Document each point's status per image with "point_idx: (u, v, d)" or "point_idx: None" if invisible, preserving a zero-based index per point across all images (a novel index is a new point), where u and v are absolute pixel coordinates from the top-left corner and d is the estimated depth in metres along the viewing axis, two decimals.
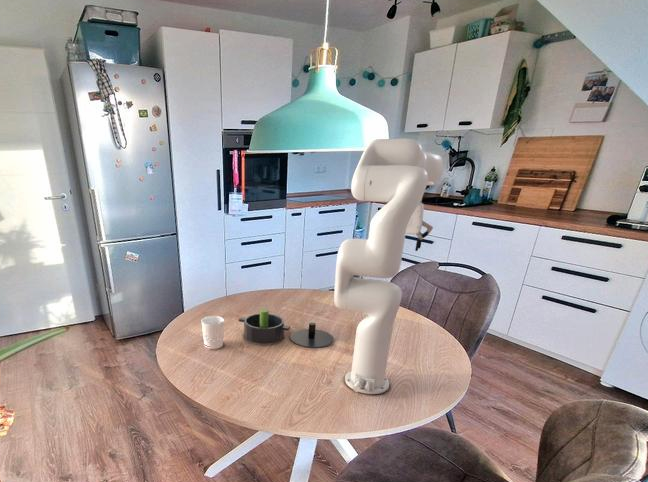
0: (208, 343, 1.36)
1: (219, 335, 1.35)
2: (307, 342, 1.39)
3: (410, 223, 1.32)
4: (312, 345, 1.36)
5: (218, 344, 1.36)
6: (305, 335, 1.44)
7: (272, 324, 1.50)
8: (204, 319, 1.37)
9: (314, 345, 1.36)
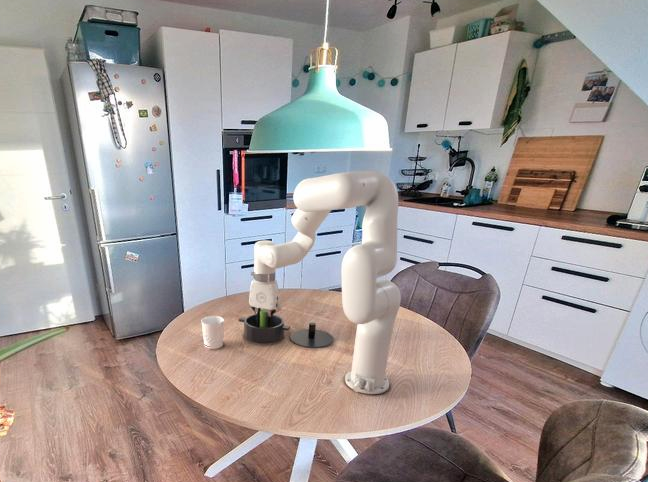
0: (208, 343, 1.36)
1: (219, 335, 1.35)
2: (307, 342, 1.39)
3: (265, 300, 1.37)
4: (312, 345, 1.36)
5: (218, 344, 1.36)
6: (305, 335, 1.44)
7: (272, 324, 1.50)
8: (204, 319, 1.37)
9: (314, 345, 1.36)
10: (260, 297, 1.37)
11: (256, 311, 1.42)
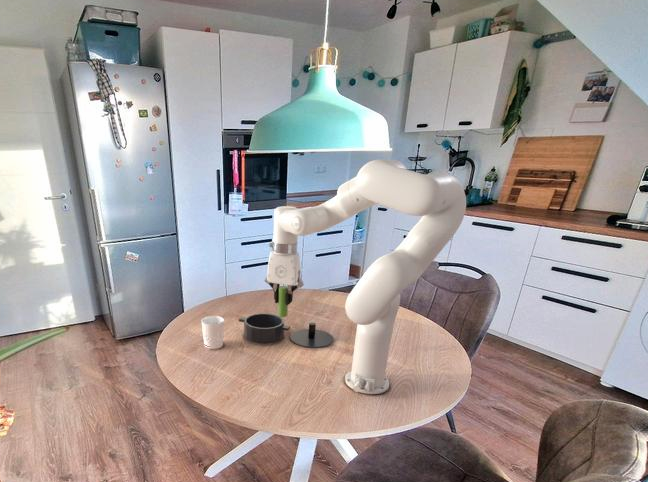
0: (208, 343, 1.36)
1: (219, 335, 1.35)
2: (307, 342, 1.39)
3: (285, 274, 1.21)
4: (312, 345, 1.36)
5: (218, 344, 1.36)
6: (305, 335, 1.44)
7: (272, 324, 1.50)
8: (204, 319, 1.37)
9: (314, 345, 1.36)
10: (280, 271, 1.22)
11: (275, 288, 1.26)
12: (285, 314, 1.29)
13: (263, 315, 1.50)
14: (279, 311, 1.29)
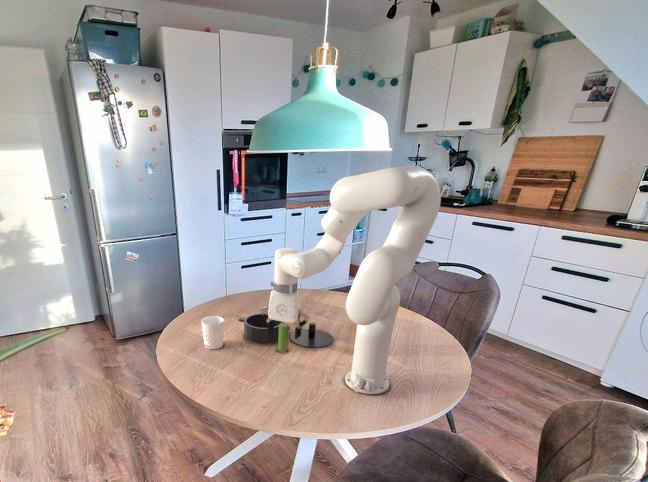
0: (208, 343, 1.36)
1: (219, 335, 1.35)
2: (307, 342, 1.39)
3: (286, 312, 1.25)
4: (312, 345, 1.36)
5: (218, 344, 1.36)
6: (305, 335, 1.44)
7: None
8: (204, 319, 1.37)
9: (314, 345, 1.36)
10: (281, 309, 1.26)
11: (268, 319, 1.31)
12: (285, 350, 1.33)
13: None
14: (279, 347, 1.33)
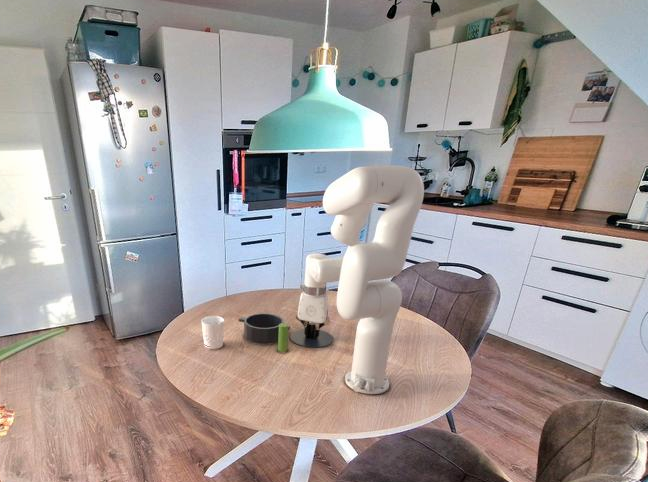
0: (208, 343, 1.36)
1: (219, 335, 1.35)
2: (307, 342, 1.39)
3: (315, 313, 1.35)
4: (312, 345, 1.36)
5: (218, 344, 1.36)
6: None
7: (272, 324, 1.50)
8: (204, 319, 1.37)
9: (314, 345, 1.36)
10: (310, 310, 1.35)
11: (305, 324, 1.40)
12: (285, 350, 1.33)
13: (263, 315, 1.50)
14: (279, 347, 1.33)
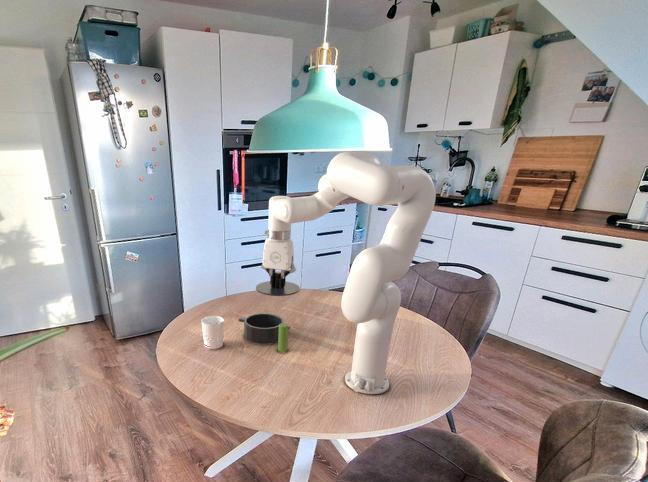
0: (208, 343, 1.36)
1: (219, 335, 1.35)
2: (272, 291, 1.33)
3: (279, 259, 1.30)
4: (277, 293, 1.31)
5: (218, 344, 1.36)
6: None
7: (272, 324, 1.50)
8: (204, 319, 1.37)
9: (279, 293, 1.31)
10: (274, 257, 1.30)
11: (271, 273, 1.35)
12: (285, 350, 1.33)
13: (263, 315, 1.50)
14: (279, 347, 1.33)
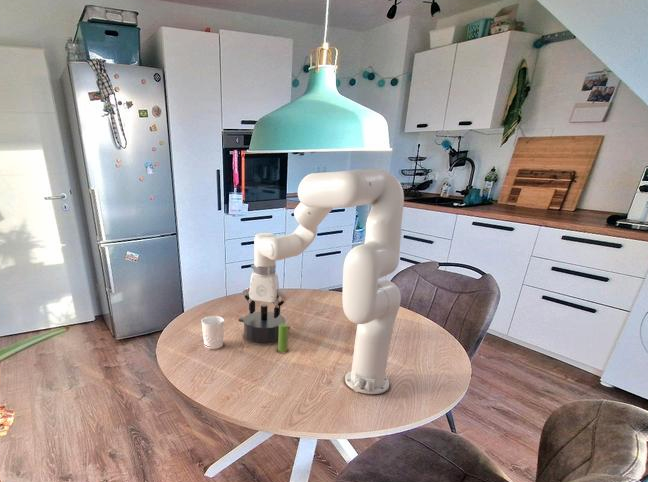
0: (208, 343, 1.36)
1: (219, 335, 1.35)
2: (259, 323, 1.39)
3: (265, 293, 1.36)
4: (262, 326, 1.37)
5: (218, 344, 1.36)
6: (258, 317, 1.45)
7: None
8: (204, 319, 1.37)
9: (264, 326, 1.37)
10: (260, 290, 1.36)
11: (249, 300, 1.41)
12: (285, 350, 1.33)
13: None
14: (279, 347, 1.33)
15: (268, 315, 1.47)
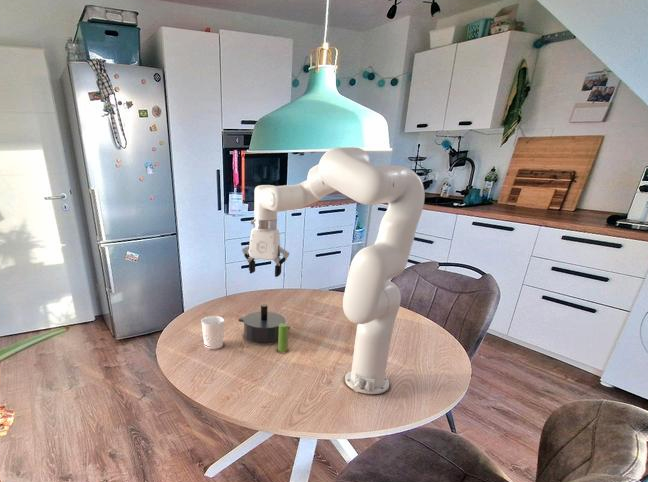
0: (208, 343, 1.36)
1: (219, 335, 1.35)
2: (259, 323, 1.39)
3: (266, 249, 1.29)
4: (262, 326, 1.37)
5: (218, 344, 1.36)
6: (258, 317, 1.45)
7: None
8: (204, 319, 1.37)
9: (264, 326, 1.37)
10: (261, 246, 1.30)
11: (249, 259, 1.35)
12: (285, 350, 1.33)
13: None
14: (279, 347, 1.33)
15: (268, 315, 1.47)
